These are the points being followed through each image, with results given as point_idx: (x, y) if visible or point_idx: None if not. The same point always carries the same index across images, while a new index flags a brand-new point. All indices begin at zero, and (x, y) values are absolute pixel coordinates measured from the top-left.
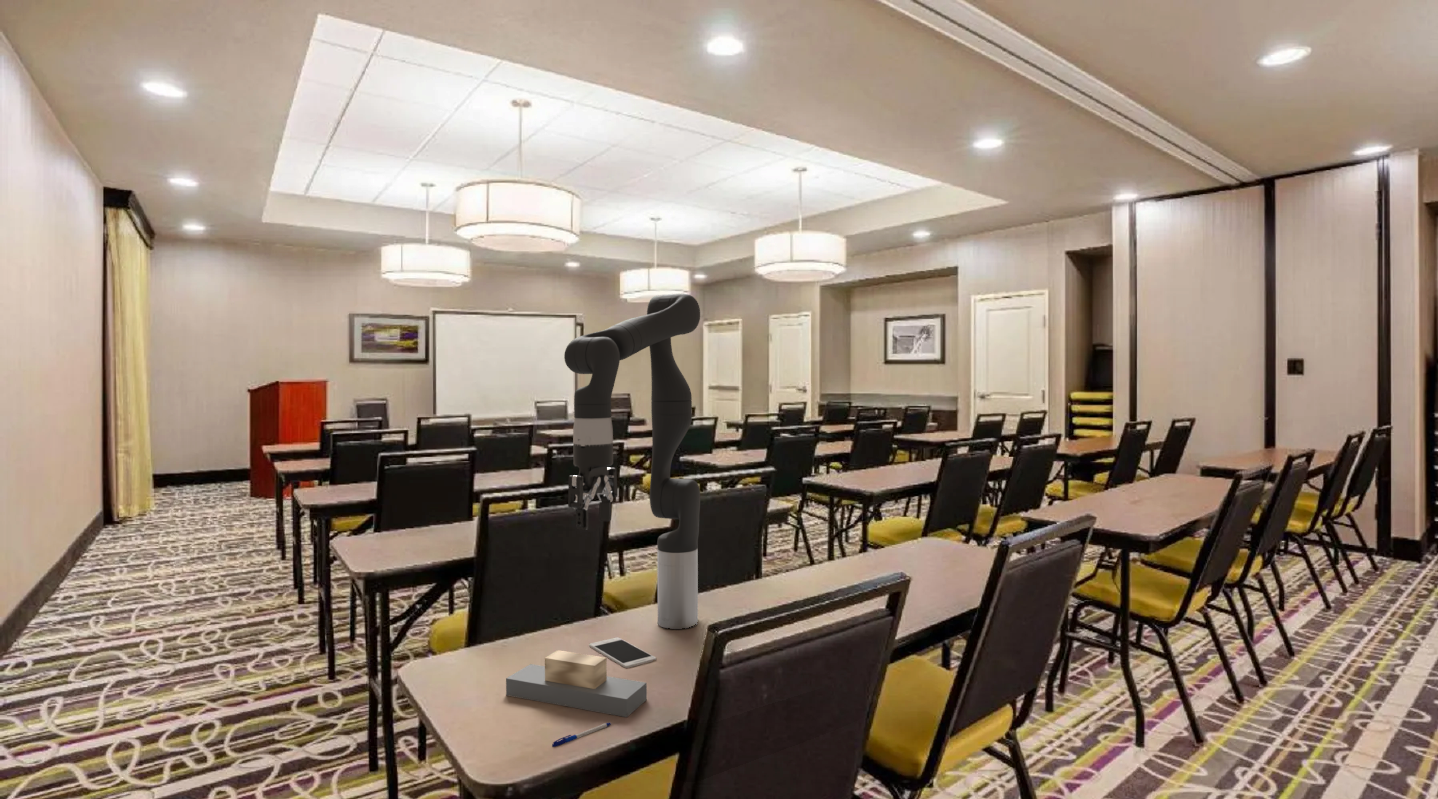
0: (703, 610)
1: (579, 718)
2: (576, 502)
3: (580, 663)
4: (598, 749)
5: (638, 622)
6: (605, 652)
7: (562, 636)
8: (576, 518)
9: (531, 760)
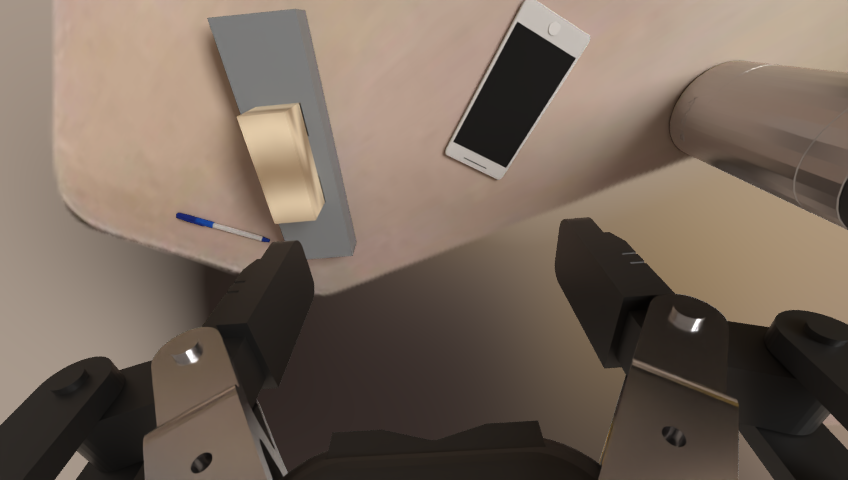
0: None
1: (255, 196)
2: (87, 459)
3: (265, 197)
4: (216, 261)
5: (720, 11)
6: (490, 74)
7: None
8: (225, 299)
9: (137, 213)
